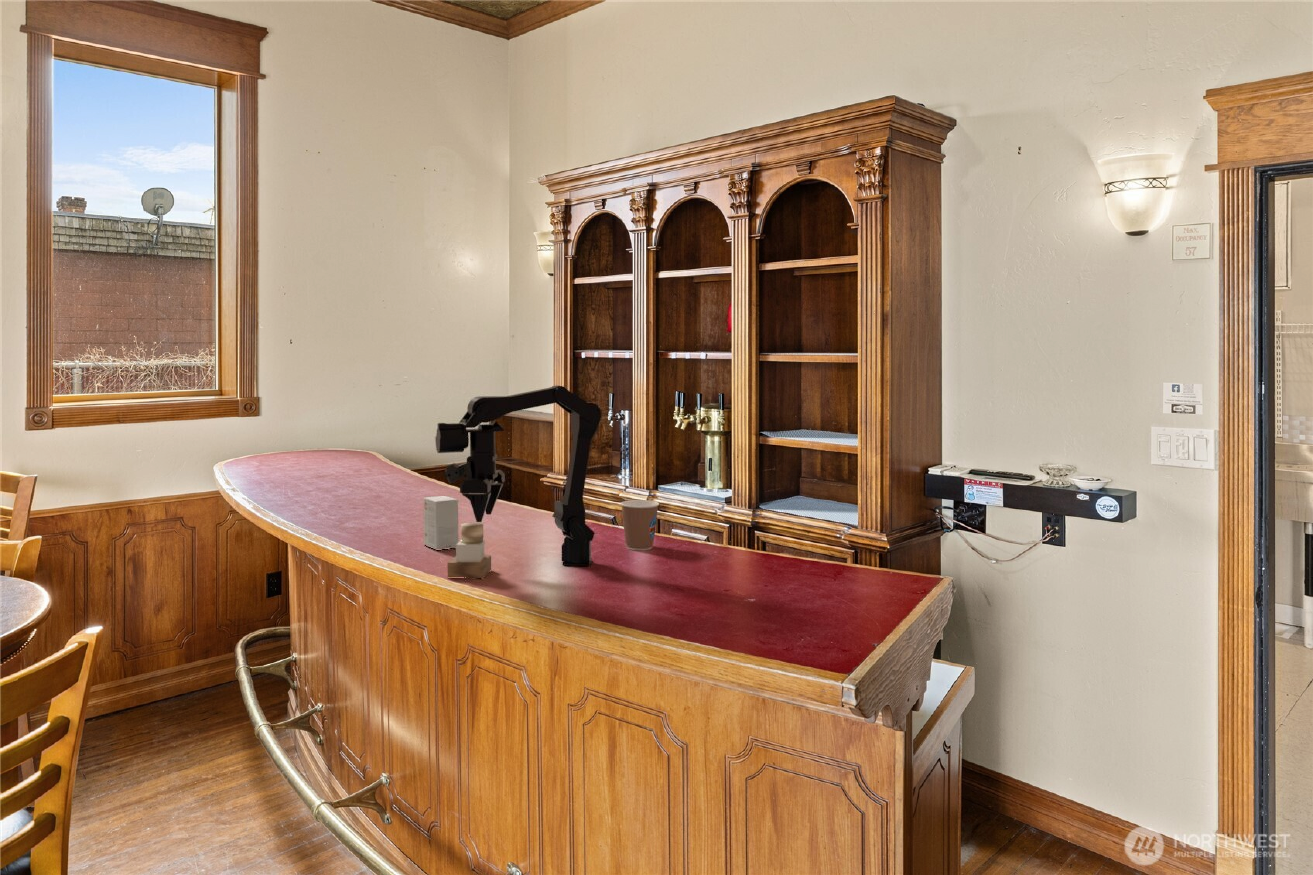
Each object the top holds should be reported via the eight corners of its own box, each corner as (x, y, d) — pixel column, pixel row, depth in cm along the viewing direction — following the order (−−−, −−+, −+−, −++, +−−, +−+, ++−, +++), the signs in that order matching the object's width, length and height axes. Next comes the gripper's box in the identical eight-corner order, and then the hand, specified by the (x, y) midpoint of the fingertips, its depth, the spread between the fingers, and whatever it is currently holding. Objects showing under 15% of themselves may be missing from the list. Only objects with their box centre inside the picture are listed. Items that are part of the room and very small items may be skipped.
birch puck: (485, 539, 194) (485, 522, 194) (480, 544, 189) (480, 526, 189) (463, 539, 194) (463, 522, 194) (458, 543, 189) (458, 526, 189)
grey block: (484, 556, 194) (484, 539, 194) (480, 562, 189) (480, 544, 188) (460, 556, 194) (460, 539, 194) (456, 562, 189) (455, 544, 188)
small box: (459, 548, 218) (458, 499, 217) (436, 551, 214) (435, 501, 213) (445, 542, 225) (445, 495, 224) (423, 546, 221) (422, 497, 220)
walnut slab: (491, 571, 196) (491, 555, 196) (482, 580, 188) (482, 563, 188) (457, 571, 196) (457, 554, 196) (447, 579, 188) (447, 562, 188)
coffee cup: (658, 552, 217) (658, 506, 216) (618, 551, 217) (619, 506, 216) (658, 543, 227) (659, 500, 226) (621, 543, 228) (621, 499, 227)
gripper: (459, 446, 202) (460, 510, 203) (436, 455, 183) (437, 525, 185) (504, 447, 201) (505, 510, 203) (486, 456, 183) (487, 526, 184)
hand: (483, 518), depth 194 cm, fingers open, 9 cm apart
